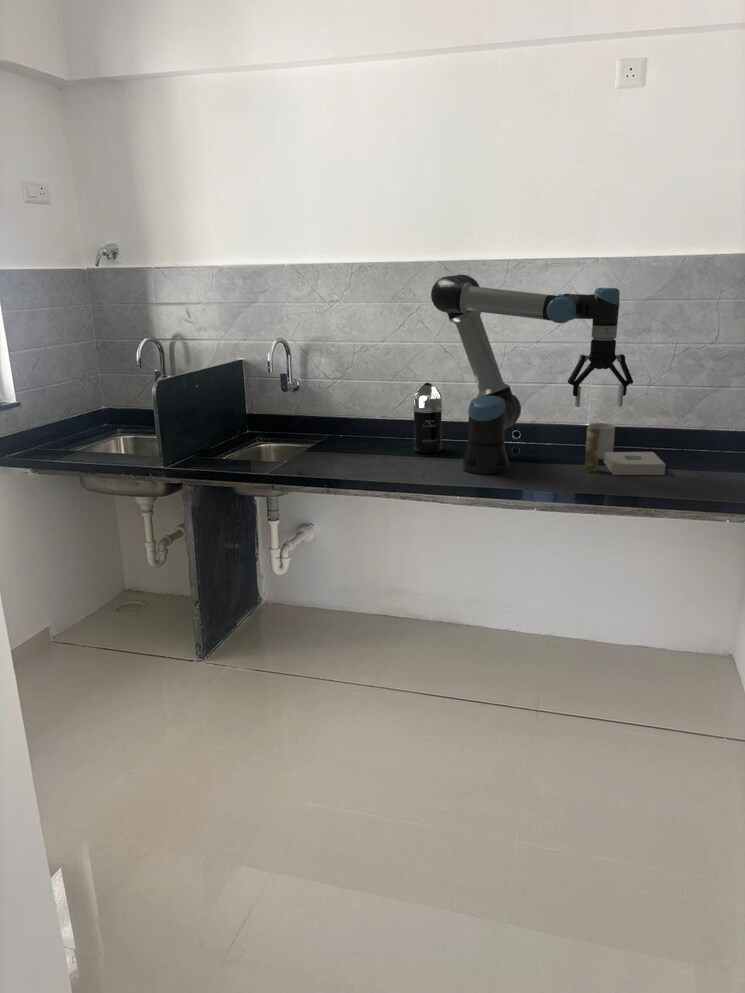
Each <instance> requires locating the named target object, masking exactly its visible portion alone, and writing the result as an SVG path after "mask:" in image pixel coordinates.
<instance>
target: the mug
mask: <svg viewBox="0 0 745 993" xmlns="http://www.w3.org/2000/svg"><path fill="white" fill-rule="evenodd" d="M589 427H596V428H600V437H599V453H598V461H604V452H614V450H615V449H614V448H615V447H614V446H615V432H616V426H615V425H614V424H612V423H606V422H605V423H604V422H603V423H601V422H596V423H589V424H588V426H587V428H589Z"/></svg>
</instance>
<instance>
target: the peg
mask: <svg viewBox="0 0 745 993" xmlns="http://www.w3.org/2000/svg"><path fill="white" fill-rule="evenodd" d="M599 437H600V428H596V427H589V428H588V427H587V428H586V442H585V455H584V457H585V458H584V459H585V461H584V471H585V472H587V473H596V472H598V468H599V466H598V465H599V464H598V463H599V460H598V453H599Z"/></svg>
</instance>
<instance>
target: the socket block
mask: <svg viewBox="0 0 745 993" xmlns="http://www.w3.org/2000/svg"><path fill="white" fill-rule="evenodd" d="M603 463H604V465H605V466H606V468H607V469H608V470H609V472H610V473H611V474H612V475H613V476H665V474H666V463H665V462H664V461H663V460H662V459H661V458H660V457H659V456H658V455H657V454H656V453H655V452H654V451H613V452H604V460H603Z"/></svg>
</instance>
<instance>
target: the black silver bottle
mask: <svg viewBox="0 0 745 993" xmlns="http://www.w3.org/2000/svg"><path fill="white" fill-rule="evenodd" d="M441 394H442V393H441V392H440V391H439V389H438V388H437V387H435V386H434V385H433V384H432V383H430V382H425V383H424V384H422V386H420V387H419V388H418V389H417V390H416V391H415V392H414V395H413V437H414V438H413V444H414V446H413V448H414V451H416V452H417V453H420V454H426V453H429V454H435V453H438V452H440V451H441V450H442V438H443V437H442V435H443V434H442V427H443V426H442V422H443V421H442V410H443V405H442V404H443V401H442V400H443V396H442V395H441Z"/></svg>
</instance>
